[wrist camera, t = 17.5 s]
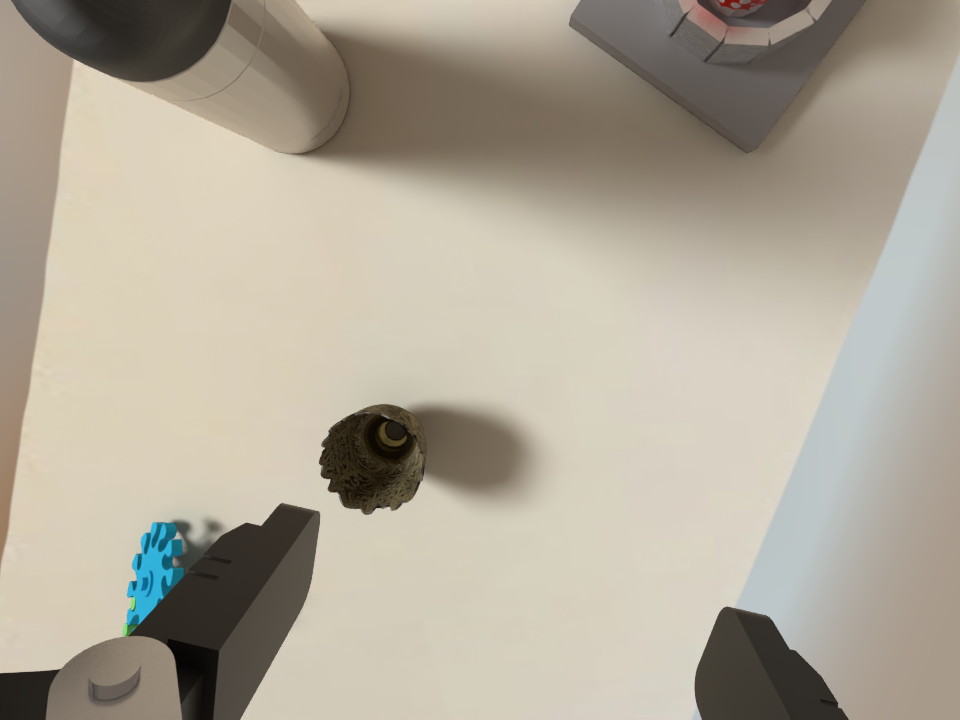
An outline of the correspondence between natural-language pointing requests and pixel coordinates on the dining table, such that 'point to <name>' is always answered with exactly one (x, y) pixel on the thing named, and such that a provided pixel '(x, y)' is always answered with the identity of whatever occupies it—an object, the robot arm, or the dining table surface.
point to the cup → (374, 459)
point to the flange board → (715, 87)
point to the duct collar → (732, 31)
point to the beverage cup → (736, 6)
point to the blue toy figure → (153, 572)
